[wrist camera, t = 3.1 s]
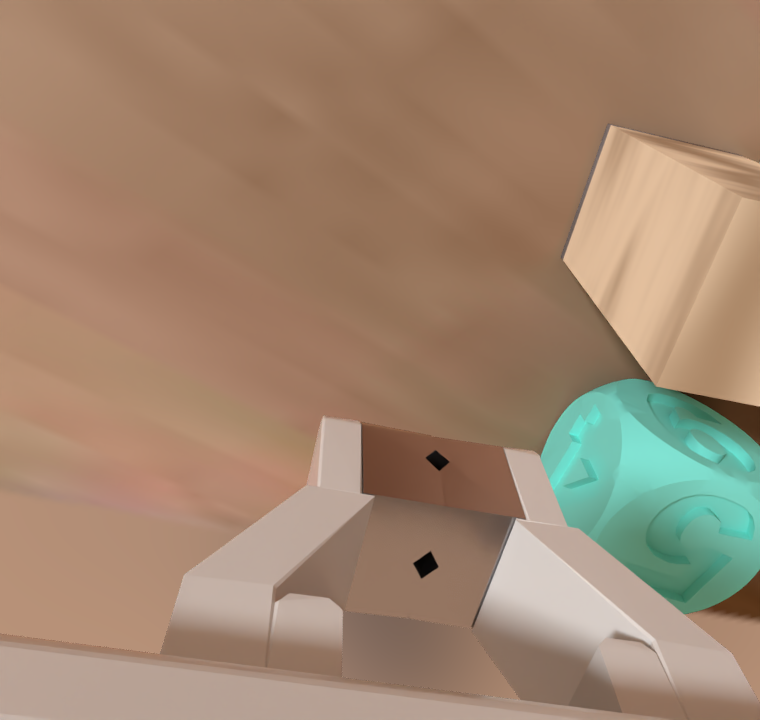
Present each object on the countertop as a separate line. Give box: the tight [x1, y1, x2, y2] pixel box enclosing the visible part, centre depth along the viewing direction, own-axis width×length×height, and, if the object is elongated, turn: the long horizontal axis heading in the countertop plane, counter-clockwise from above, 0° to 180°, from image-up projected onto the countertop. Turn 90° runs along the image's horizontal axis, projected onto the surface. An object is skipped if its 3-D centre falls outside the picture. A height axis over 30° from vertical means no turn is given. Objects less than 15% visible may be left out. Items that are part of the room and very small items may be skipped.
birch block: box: [561, 124, 760, 406], centre depth 26 cm, size 6×6×12 cm
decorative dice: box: [540, 379, 760, 614], centre depth 34 cm, size 8×8×8 cm
